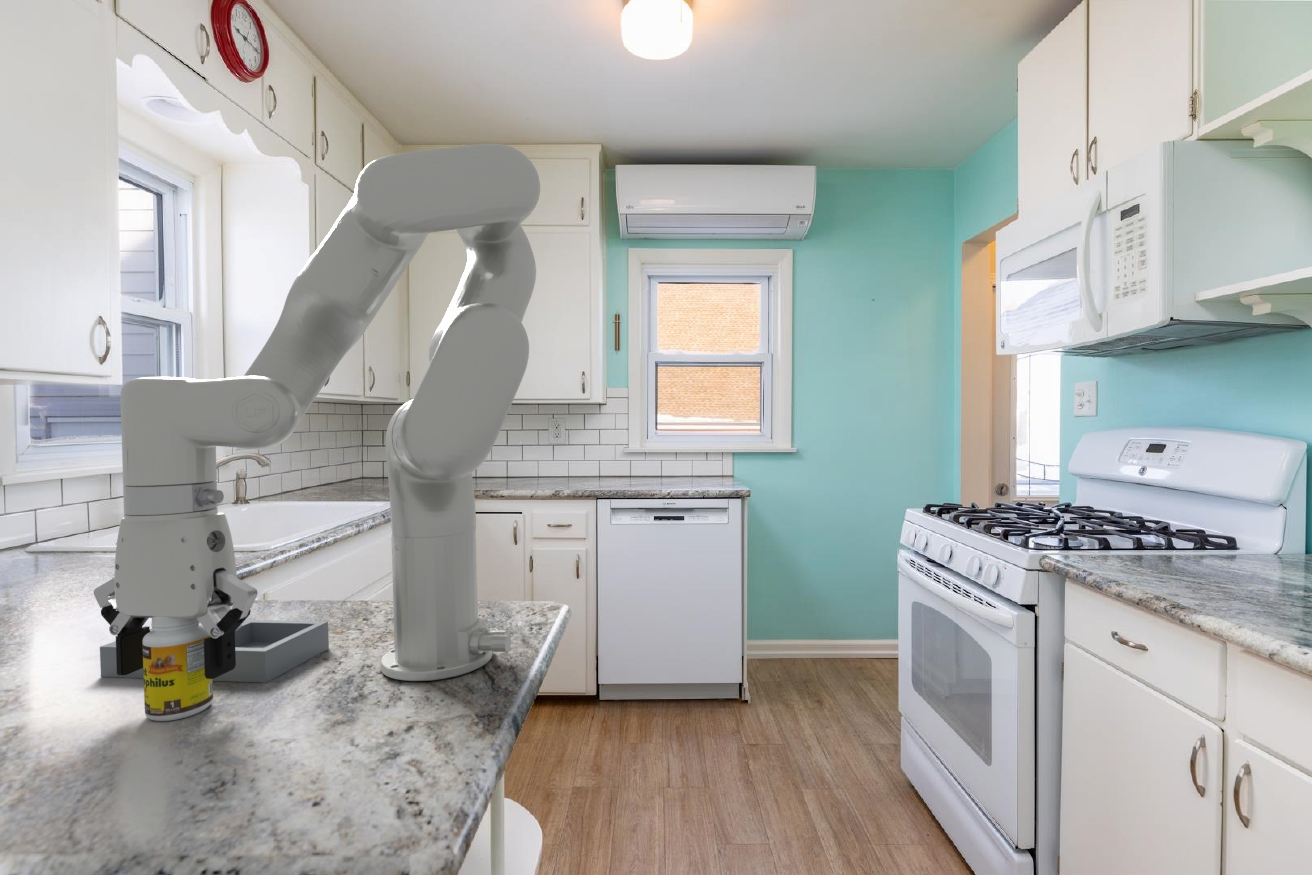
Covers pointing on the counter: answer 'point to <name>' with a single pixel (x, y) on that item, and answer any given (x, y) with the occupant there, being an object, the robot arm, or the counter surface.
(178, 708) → the supplement bottle
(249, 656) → the divided tray
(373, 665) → the counter surface
